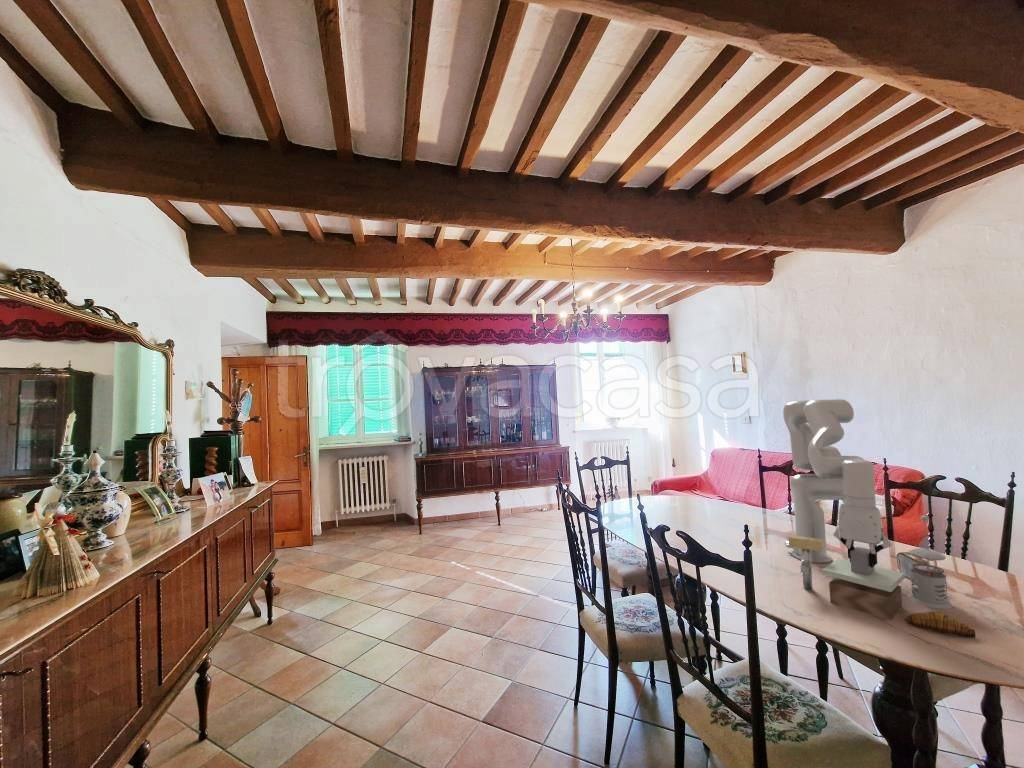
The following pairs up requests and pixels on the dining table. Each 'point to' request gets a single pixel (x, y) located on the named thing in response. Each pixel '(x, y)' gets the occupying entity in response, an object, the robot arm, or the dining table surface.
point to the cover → (864, 571)
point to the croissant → (940, 623)
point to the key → (806, 555)
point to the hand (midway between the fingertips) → (862, 563)
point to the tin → (909, 563)
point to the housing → (865, 598)
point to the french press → (928, 578)
